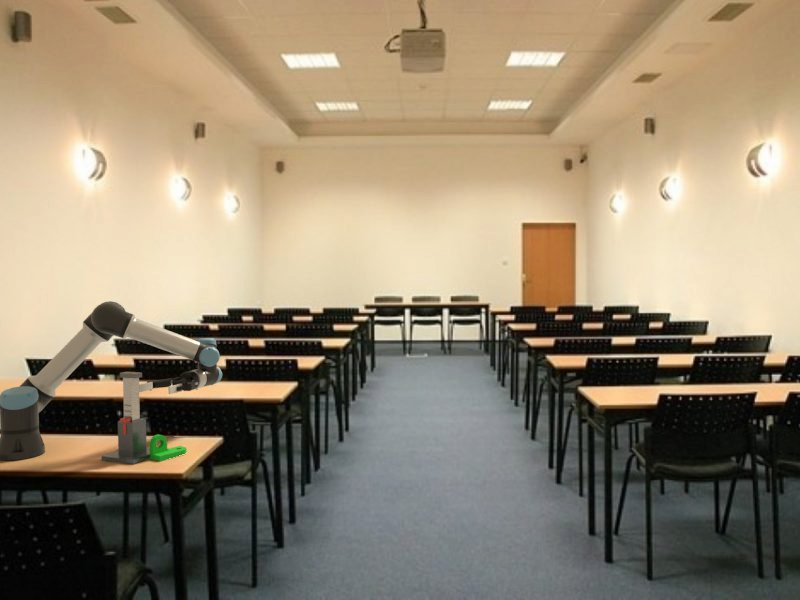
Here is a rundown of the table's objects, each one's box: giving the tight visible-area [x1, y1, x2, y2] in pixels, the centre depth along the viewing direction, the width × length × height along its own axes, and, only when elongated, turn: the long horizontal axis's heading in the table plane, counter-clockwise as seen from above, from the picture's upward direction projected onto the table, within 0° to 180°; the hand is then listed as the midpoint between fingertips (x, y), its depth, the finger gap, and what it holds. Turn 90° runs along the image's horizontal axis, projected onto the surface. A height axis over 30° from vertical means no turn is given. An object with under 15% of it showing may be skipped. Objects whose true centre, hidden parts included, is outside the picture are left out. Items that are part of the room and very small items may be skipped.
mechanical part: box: [149, 434, 188, 462], centre depth 221 cm, size 12×6×8 cm, turn 144°
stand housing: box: [100, 417, 150, 465], centre depth 220 cm, size 14×14×14 cm
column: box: [119, 371, 143, 422], centre depth 220 cm, size 7×4×28 cm, turn 70°
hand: (154, 389), depth 229 cm, fingers open, 13 cm apart
